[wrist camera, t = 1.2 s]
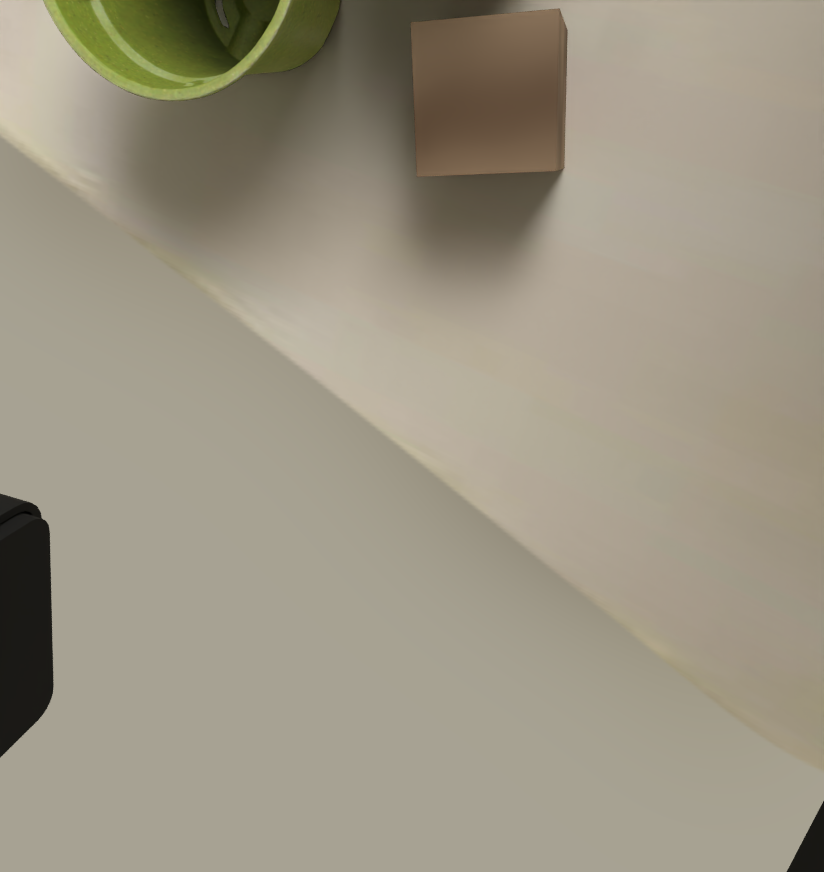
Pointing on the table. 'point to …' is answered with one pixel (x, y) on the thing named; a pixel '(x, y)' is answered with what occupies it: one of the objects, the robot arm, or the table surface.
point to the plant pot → (191, 40)
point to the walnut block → (490, 93)
